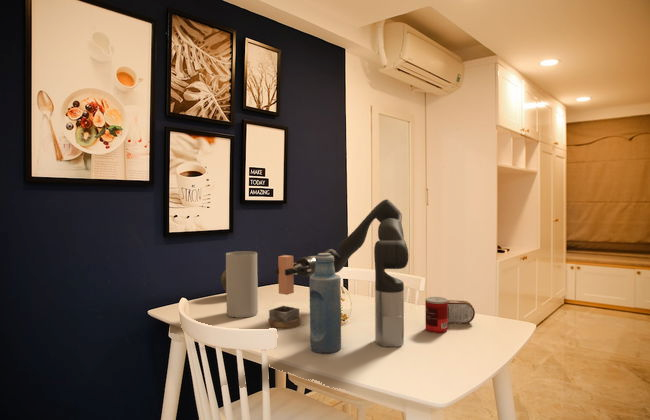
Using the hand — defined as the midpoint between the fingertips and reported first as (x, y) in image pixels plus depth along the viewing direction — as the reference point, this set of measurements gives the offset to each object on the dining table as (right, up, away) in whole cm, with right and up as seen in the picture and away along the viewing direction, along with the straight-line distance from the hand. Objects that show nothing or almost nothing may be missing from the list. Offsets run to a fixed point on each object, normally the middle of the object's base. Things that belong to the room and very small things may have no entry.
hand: (281, 272), depth 157 cm
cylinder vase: (-17, -20, +16) cm, 31 cm away
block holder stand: (+1, -20, +2) cm, 20 cm away
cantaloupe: (-26, -19, +47) cm, 57 cm away
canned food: (+56, -20, -6) cm, 60 cm away
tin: (+65, -20, +2) cm, 68 cm away
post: (+2, -8, +3) cm, 9 cm away
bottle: (+17, -21, -24) cm, 36 cm away
